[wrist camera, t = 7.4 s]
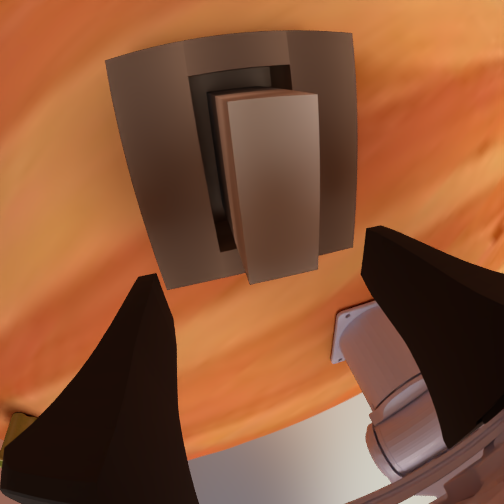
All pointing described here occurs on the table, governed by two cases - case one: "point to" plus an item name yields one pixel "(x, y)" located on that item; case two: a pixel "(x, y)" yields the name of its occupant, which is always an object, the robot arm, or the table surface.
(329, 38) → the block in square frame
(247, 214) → the rectangular block end
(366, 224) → the table surface
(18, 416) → the plant pot
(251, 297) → the table surface
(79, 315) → the table surface
